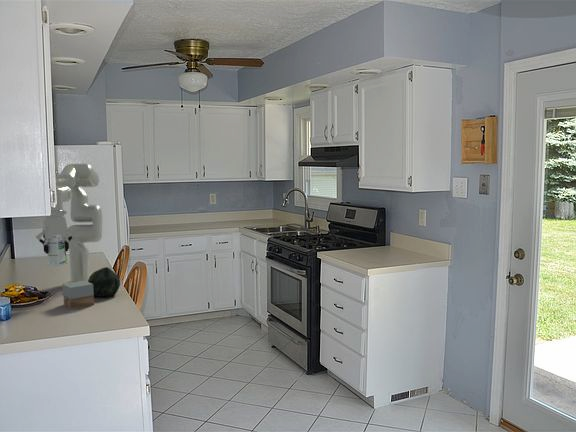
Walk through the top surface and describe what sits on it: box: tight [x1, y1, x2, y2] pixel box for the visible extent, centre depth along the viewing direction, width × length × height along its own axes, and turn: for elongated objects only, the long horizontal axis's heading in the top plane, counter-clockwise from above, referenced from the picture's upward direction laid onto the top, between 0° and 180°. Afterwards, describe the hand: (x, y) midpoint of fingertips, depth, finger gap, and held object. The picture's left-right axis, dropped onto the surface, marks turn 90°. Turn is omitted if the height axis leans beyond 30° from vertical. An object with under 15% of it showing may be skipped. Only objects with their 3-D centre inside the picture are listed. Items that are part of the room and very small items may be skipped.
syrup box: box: [47, 234, 68, 267], centre depth 243 cm, size 6×6×14 cm
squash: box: [88, 266, 121, 298], centre depth 254 cm, size 14×15×15 cm
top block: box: [62, 281, 94, 299], centre depth 237 cm, size 10×10×5 cm
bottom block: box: [62, 294, 95, 310], centre depth 238 cm, size 10×10×5 cm
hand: (56, 251), depth 243 cm, fingers closed on syrup box, 8 cm apart
